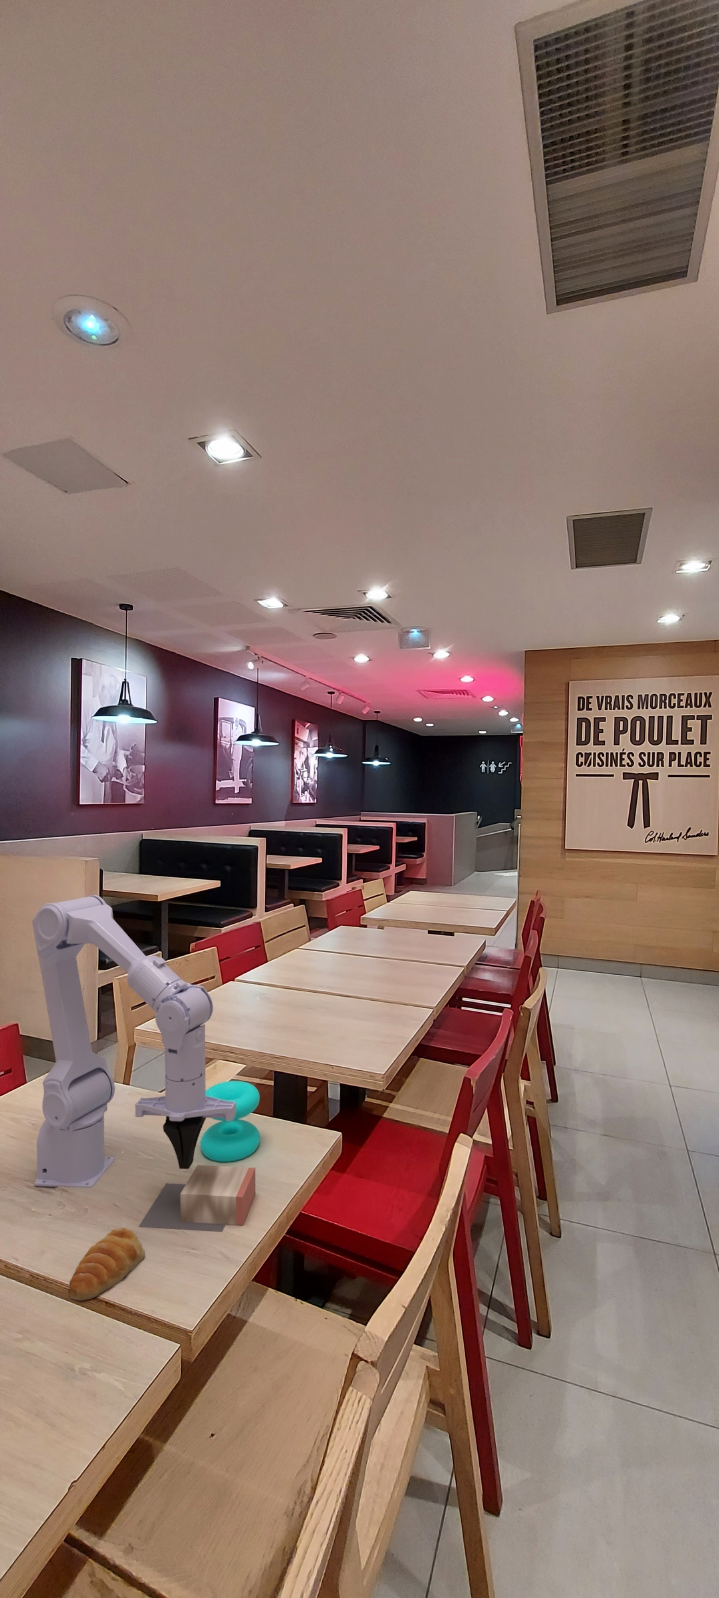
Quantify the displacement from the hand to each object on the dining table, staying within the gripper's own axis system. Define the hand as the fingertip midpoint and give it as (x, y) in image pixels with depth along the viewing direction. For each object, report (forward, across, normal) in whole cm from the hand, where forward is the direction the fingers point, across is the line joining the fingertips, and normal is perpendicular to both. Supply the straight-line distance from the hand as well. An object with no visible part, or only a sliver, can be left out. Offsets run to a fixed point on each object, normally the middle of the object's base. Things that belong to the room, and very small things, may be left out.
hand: (186, 1165), depth 95 cm
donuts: (+7, +2, +16) cm, 17 cm away
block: (+4, 0, 0) cm, 4 cm away
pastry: (+7, -6, -13) cm, 16 cm away
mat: (+6, +1, 0) cm, 6 cm away
